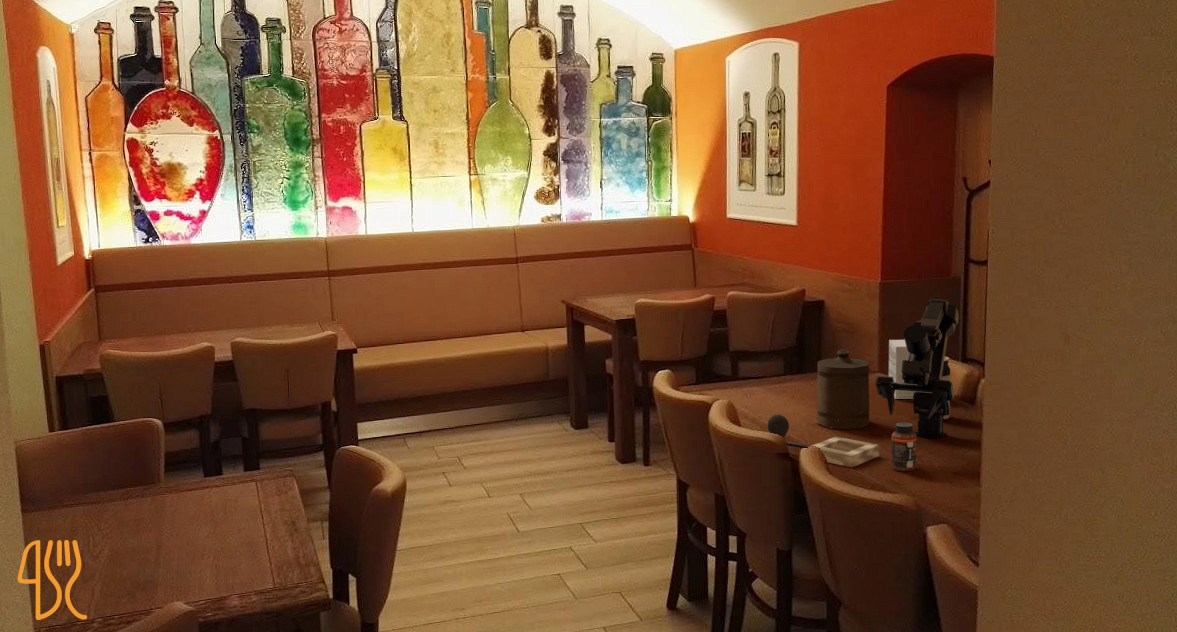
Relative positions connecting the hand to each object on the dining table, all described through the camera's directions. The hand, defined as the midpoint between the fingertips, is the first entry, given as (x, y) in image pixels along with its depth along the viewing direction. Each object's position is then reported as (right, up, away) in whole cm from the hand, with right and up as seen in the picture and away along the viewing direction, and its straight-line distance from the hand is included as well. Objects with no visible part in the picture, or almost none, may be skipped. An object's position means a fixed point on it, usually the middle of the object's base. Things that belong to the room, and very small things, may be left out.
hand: (909, 416), depth 258 cm
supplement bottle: (-2, -13, -3) cm, 14 cm away
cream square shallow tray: (-15, -12, +8) cm, 20 cm away
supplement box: (+24, -1, +74) cm, 77 cm away
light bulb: (-30, -11, +16) cm, 36 cm away
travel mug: (+22, -5, +45) cm, 50 cm away
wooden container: (-6, -7, +42) cm, 43 cm away
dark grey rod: (-23, -10, +19) cm, 31 cm away
